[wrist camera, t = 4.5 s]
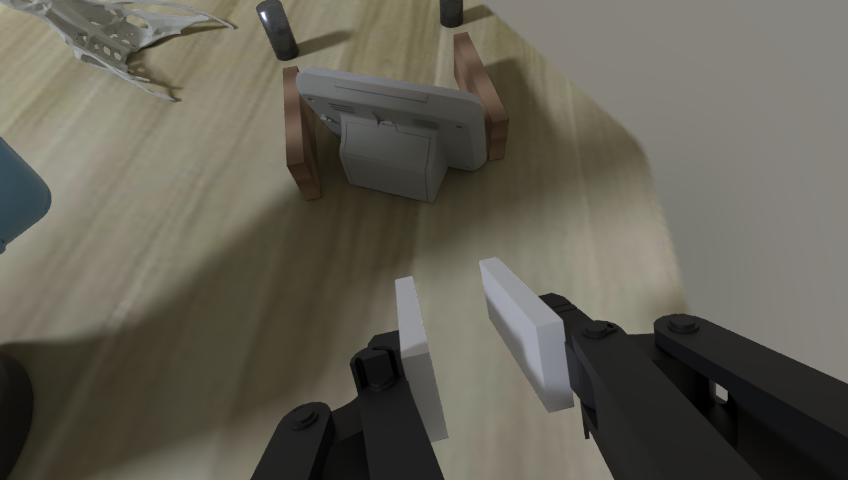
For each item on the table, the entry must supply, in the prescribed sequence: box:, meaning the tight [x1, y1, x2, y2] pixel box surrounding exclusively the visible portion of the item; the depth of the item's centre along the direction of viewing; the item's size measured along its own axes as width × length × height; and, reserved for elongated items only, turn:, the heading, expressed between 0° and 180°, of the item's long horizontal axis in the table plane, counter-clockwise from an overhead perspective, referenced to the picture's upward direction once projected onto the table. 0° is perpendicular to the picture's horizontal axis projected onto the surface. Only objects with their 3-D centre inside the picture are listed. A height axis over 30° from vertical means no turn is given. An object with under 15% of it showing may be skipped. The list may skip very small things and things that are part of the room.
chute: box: [283, 32, 509, 200], centre depth 41 cm, size 14×20×5 cm
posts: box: [256, 0, 463, 61], centre depth 49 cm, size 3×25×6 cm, turn 102°
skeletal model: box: [0, 0, 235, 102], centre depth 49 cm, size 16×9×25 cm
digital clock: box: [296, 67, 487, 203], centre depth 36 cm, size 16×9×11 cm, turn 59°
